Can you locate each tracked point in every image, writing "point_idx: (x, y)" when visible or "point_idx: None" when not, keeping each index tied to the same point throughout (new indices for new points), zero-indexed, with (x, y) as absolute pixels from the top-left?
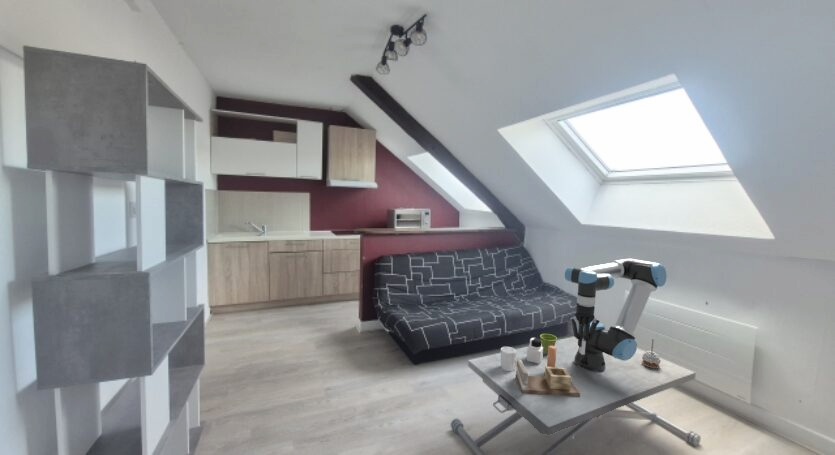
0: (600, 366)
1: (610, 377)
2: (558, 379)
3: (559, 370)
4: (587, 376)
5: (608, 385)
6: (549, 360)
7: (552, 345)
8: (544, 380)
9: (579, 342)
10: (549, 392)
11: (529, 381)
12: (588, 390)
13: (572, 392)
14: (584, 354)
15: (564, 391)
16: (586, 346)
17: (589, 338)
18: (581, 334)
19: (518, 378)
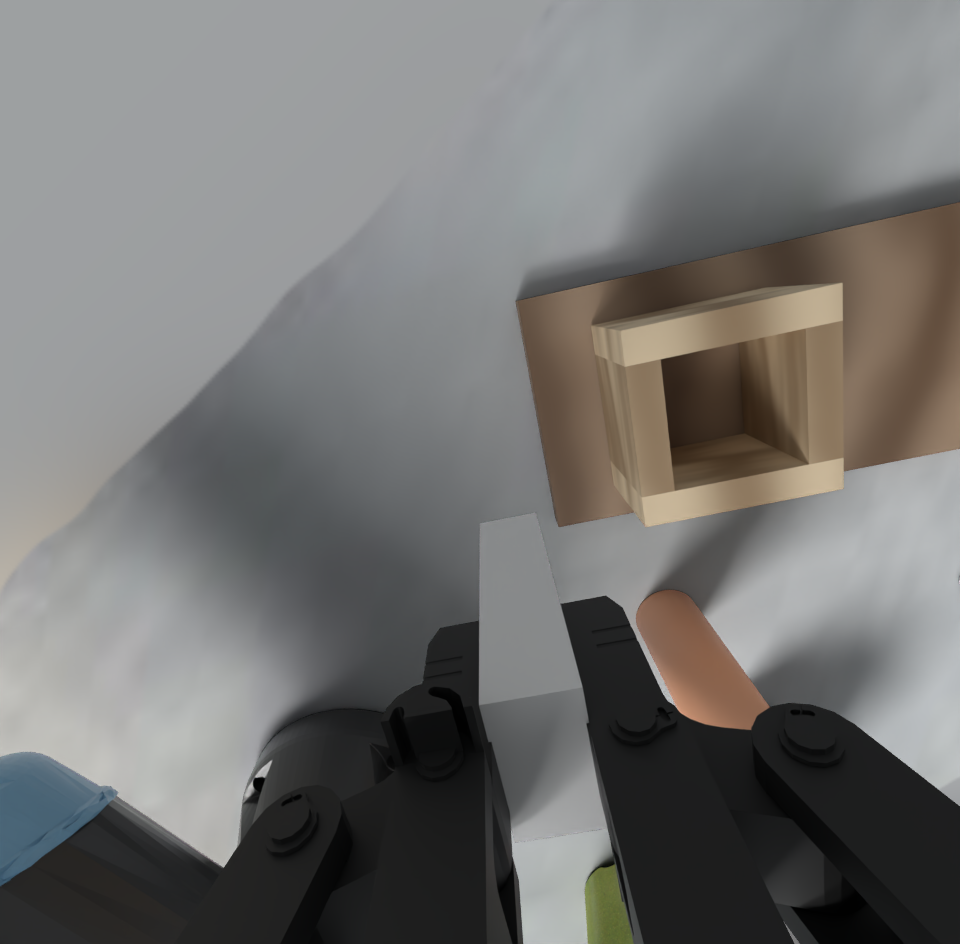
0: (283, 751)
1: (235, 660)
2: (743, 301)
3: (693, 479)
4: (399, 625)
5: (265, 543)
6: (733, 658)
7: (616, 931)
8: None
9: (638, 663)
10: (776, 244)
11: (921, 360)
12: (427, 419)
13: (580, 289)
14: (482, 523)
15: (646, 284)
16: (445, 636)
17: (346, 823)
18: (721, 935)
19: None
